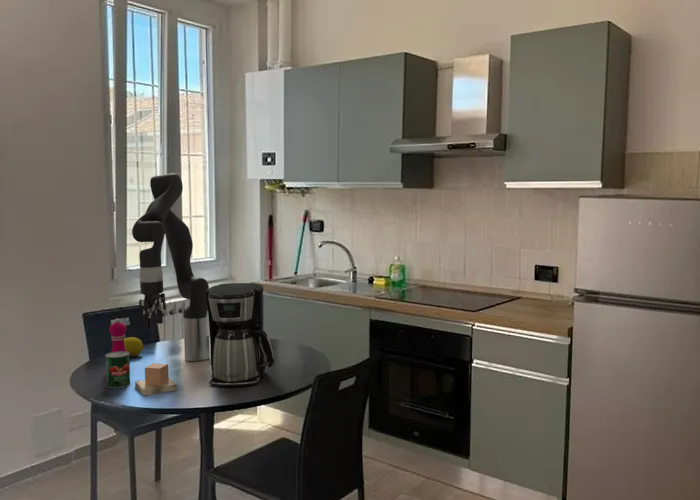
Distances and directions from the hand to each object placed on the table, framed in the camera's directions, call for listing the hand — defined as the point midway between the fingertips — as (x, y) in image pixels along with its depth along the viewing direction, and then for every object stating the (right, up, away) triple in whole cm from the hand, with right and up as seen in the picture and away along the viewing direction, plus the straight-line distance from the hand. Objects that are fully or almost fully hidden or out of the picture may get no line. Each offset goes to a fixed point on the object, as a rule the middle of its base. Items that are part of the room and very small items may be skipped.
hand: (153, 326), depth 216 cm
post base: (+1, -21, -2) cm, 21 cm away
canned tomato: (-13, -21, +3) cm, 25 cm away
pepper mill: (-19, -20, +21) cm, 34 cm away
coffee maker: (+30, -20, +13) cm, 38 cm away
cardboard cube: (+2, -19, -2) cm, 19 cm away
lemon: (-22, -18, +41) cm, 50 cm away
